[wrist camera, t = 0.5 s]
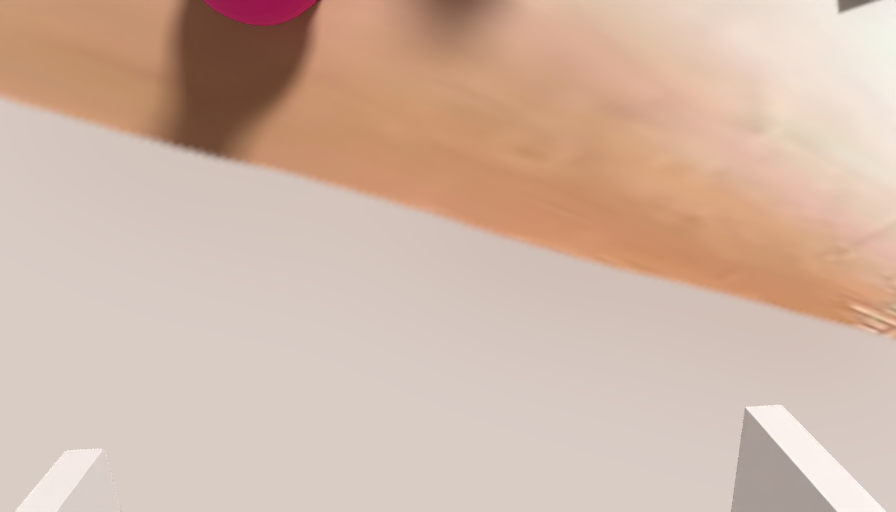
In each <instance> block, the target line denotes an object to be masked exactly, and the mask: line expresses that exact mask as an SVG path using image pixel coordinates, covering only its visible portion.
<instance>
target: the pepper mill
mask: <svg viewBox="0 0 896 512" xmlns="http://www.w3.org/2000/svg"><path fill="white" fill-rule="evenodd" d="M203 1H204V2H205V3H206V4H207V5H208V6H210V7H211V8H212V9H214V10H215V11H217V12H219V13H221V14H223V15H224V16H226V17H228V18H231V19H233V20H236V21H239V22H241V23H246V24H250V25H259V26H268V25H277V24H280V23H283V22H287V21H289V20H291V19H293V18H295V17H297V16H299V15H300V14H302V13H303V12H304V11H306V10H307V9H308V8H310V7H311V6H312V5H313V4H314V3H316V1H317V0H203Z"/></svg>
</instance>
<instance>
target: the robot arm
mask: <svg viewBox="0 0 896 512" xmlns="http://www.w3.org/2000/svg"><path fill="white" fill-rule="evenodd" d="M15 512H121V509H120V505H119V501H118V498H117V494H116V490H115V486H114V483H113V479H112V475H111V471H110V468H109V464H108V460H107V456H106V453H105V449H104V448H101V449H85V450H69V451H65V452H64V453H63V455H62V456H61V457H60V458H59V459H58V460H57V462H56V463H55V464H54V465H53V466H52V468H51V469H50V470H49V471H48V472H47V474H46V475H45V476H44V477H43V478H42V480H41V481H40V482H39V483H38V484H37V486H36V487H35V488H34V489H33V490H32V491H31V493H30V494H29V495H28V496H27V497H26V499H25V500H24V501H23V502H22V503H21V505H20V506H19V507H18V508H17V509H16V511H15ZM731 512H886V511H885V510H884V509H883V508H882V507H881V506H880V505H879V504H878V503H877V502H876V501H875V500H874V499H873V498H872V497H871V496H870V495H869V494H868V493H867V492H866V491H865V489H864V488H862V486H860V484H859V483H858V482H856V480H855V479H854V478H853V477H852V476H851V475H850V474H849V473H848V472H847V471H846V470H845V469H844V468H843V467H842V466H841V465H840V464H839V463H838V462H837V461H836V460H835V459H834V458H833V457H832V456H831V455H830V454H829V453H828V452H827V451H826V450H825V449H824V448H823V447H822V446H821V445H820V444H819V443H818V442H817V441H816V440H815V439H814V438H813V437H812V436H811V435H810V434H809V432H807V430H806V429H805V428H804V427H803V426H802V425H801V424H800V423H799V422H798V421H797V420H796V419H795V418H794V417H793V416H792V415H791V414H790V413H789V412H788V411H787V410H786V409H785V408H784V407H783V406H782V405H771V406H754V407H745V412H744V420H743V428H742V434H741V443H740V449H739V457H738V465H737V472H736V479H735V487H734V495H733V502H732V509H731Z"/></svg>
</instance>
